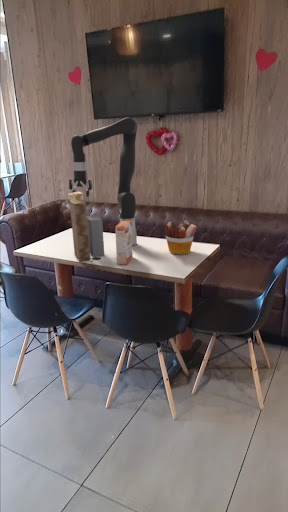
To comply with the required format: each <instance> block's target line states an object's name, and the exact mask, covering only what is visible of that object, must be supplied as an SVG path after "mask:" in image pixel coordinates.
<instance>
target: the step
mask: <svg viewBox="0 0 288 512" xmlns="http://www.w3.org/2000/svg"><path fill="white" fill-rule="evenodd" d="M87 226H88V238H89V251H90V256H91V257H92V258H93V259H94V258H101V257H102V258H103V257H105V244H104V241H105V240H104V229H103V228H104V227H103V219H102V218H101V217H100V216H98V215H89V216H88V215H87Z"/></svg>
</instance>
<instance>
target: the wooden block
mask: <svg viewBox="0 0 288 512" xmlns="http://www.w3.org/2000/svg"><path fill="white" fill-rule="evenodd" d="M69 205H70V206H69V207H70V209H69V210H70V218H71V230H72V239H73V250H74V251H73V252H74V256H75V258H76V259H77V261H78V262H79V263H81V262H82V263H83V262H88V261H91V254H90V251H89V238H88V226H87V216H88V215H87V203H86V202H85V201H84V203H79V204H76V203H75V202H73V201H72V200H71V199H69Z"/></svg>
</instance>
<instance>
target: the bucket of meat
mask: <svg viewBox="0 0 288 512" xmlns="http://www.w3.org/2000/svg"><path fill="white" fill-rule="evenodd" d="M183 222H184V223H179V225H177V224H175V223H176V222H175V221H169V222H168V223H167V224H166V223H165V224H164V225H163V226H164V231H165V234H166V235H165V238H166V243H167V248H168V251H169V252H170V254H172V253H173V254H172V255H175V254H185V255H187V254H186V253H188V252H189V253H191V248H192V245H193V240H194V236H195V233H196V230H197V228H198V227H197V225H195V224H193V223H191V224H190V222H189V221H188V220H184V221H183ZM189 253H188V254H189Z"/></svg>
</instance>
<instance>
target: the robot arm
mask: <svg viewBox="0 0 288 512" xmlns="http://www.w3.org/2000/svg"><path fill="white" fill-rule="evenodd" d="M137 132H138V123H137V121H136V120H135V119H133V118H132V117H129V116H128V117H124V118H122V119H119V121H116V122H115V123H112V124H110V125H107V126H104V127H100V128H97V129H92V130H90V131H88V132H87V133H84V134H81V135H79V134H74V135H73V136H72V138H71V141H70V144H71V150H72V154H73V179H72V178H71V179H68V181H69V183H68V189H69V190H71V191H72V192H71V193H73V192H77V191H76V189H77V188H80V187H81V188H84V189H85V190H86V191H85V195H86V198H89V197H90V191H91V190H93V181H92V179H88V178H87V164H86V163H87V162H86V154H85V152H84V147H89V146H90V145H92V144H93V145H94V144H97V143H99V142H102V141H105V140H108V139H110V138H111V137H114V136H119V135H122V145H121V146H122V147H121V151H120V154H119V155H120V156H119V165H118V166H119V170H118V171H119V173H118V175H119V176H118V177H119V179H118V180H119V181H118V182H119V183H118V188H117V189H118V190H117V197H116V198H117V199H116V200H117V202H118V204H119V205H120V206H121V208H120V213H119V223H120V222H122V221H132V247H133V246H136V245H137V244H138V241H137V239H138V237H137V229H136V222H135V221H136V218H135V217H136V211H137V209H136V206H137V204H136V197H135V194H134V193H132V192H131V183H132V180H133V177H134V174H135V170H136V169H135V168H136V138H137ZM73 184H74V185H73ZM87 184H88V185H87Z"/></svg>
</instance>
